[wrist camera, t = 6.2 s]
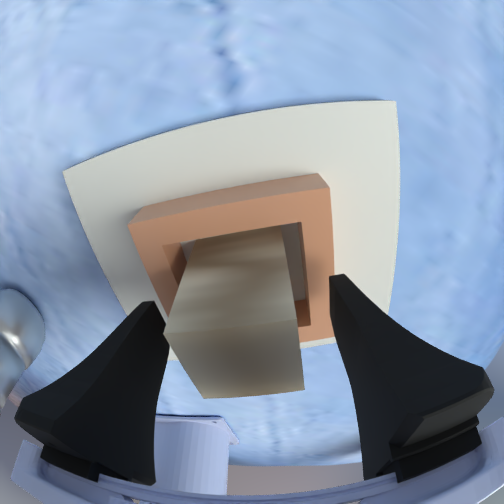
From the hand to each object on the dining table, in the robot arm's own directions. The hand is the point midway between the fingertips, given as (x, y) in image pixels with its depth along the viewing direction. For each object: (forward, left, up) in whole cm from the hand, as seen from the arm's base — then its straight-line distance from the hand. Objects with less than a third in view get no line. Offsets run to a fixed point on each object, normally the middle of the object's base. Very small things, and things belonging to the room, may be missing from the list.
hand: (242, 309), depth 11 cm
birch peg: (0, 0, -3) cm, 3 cm away
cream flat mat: (0, 0, -4) cm, 4 cm away
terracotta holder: (0, 0, -3) cm, 3 cm away
